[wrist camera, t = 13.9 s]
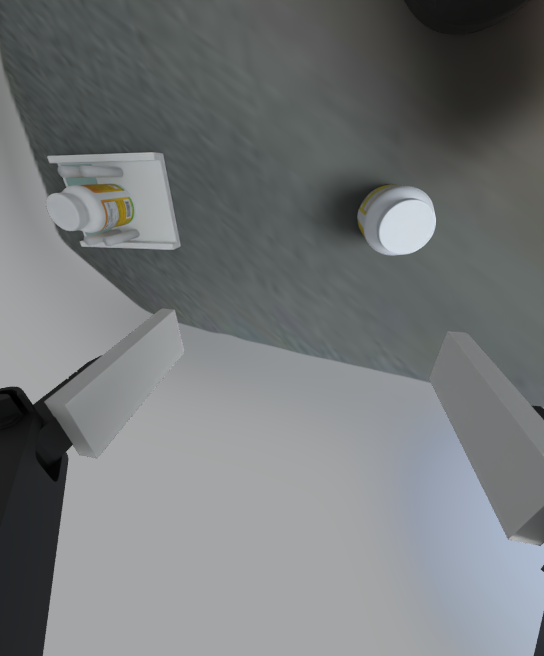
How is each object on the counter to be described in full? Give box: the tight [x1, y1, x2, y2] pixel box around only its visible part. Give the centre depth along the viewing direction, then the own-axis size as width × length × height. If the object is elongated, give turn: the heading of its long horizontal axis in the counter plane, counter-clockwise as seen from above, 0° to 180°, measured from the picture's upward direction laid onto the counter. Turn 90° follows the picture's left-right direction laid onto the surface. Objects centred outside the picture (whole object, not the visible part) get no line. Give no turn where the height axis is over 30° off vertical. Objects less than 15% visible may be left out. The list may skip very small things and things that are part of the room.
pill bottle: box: [357, 185, 436, 255], centre depth 28 cm, size 6×6×12 cm
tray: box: [47, 152, 181, 250], centre depth 35 cm, size 16×12×7 cm
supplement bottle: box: [46, 184, 136, 233], centre depth 33 cm, size 5×5×10 cm
